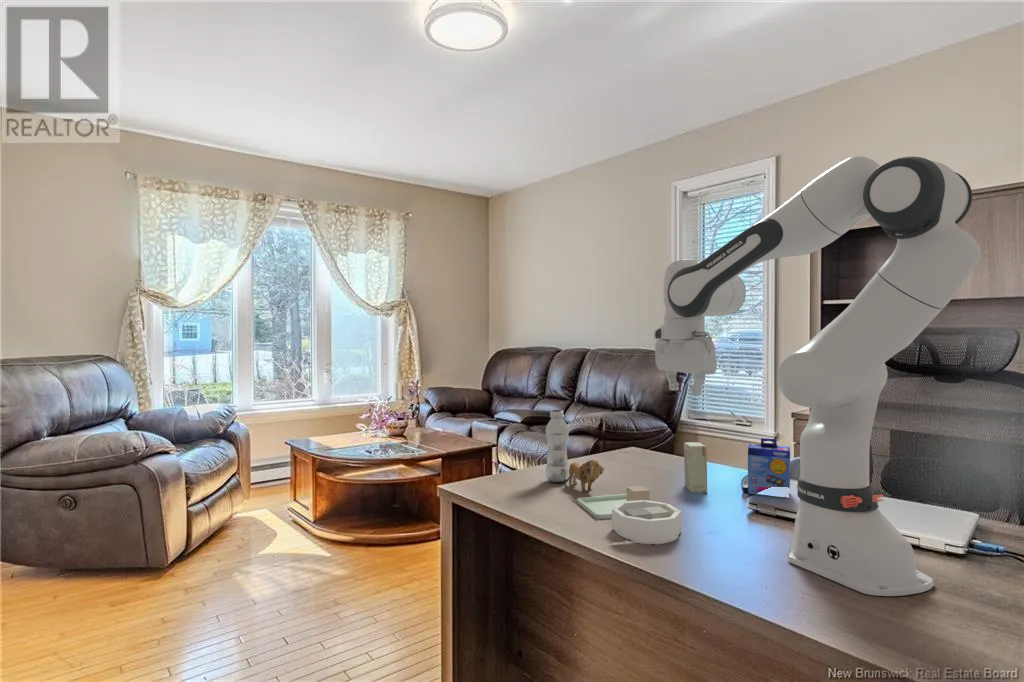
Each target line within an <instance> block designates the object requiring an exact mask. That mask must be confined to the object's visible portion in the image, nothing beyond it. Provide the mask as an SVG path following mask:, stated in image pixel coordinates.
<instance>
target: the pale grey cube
mask: <svg viewBox="0 0 1024 682" xmlns="http://www.w3.org/2000/svg"><path fill="white" fill-rule="evenodd" d="M642 509H644V510H645V511H647V512H649V513H650V514H651V519H657V518H667V517H669V512H668V511H666V510H665V509H663V508H661V507H660V506H657V507H647V508H642Z"/></svg>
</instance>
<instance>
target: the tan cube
mask: <svg viewBox="0 0 1024 682" xmlns="http://www.w3.org/2000/svg"><path fill="white" fill-rule="evenodd" d="M625 494H627V501H637V500H647V501H651V499H650V489H648V488H646V487H645V486H643V485H635V486H627V487H626V493H625Z"/></svg>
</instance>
